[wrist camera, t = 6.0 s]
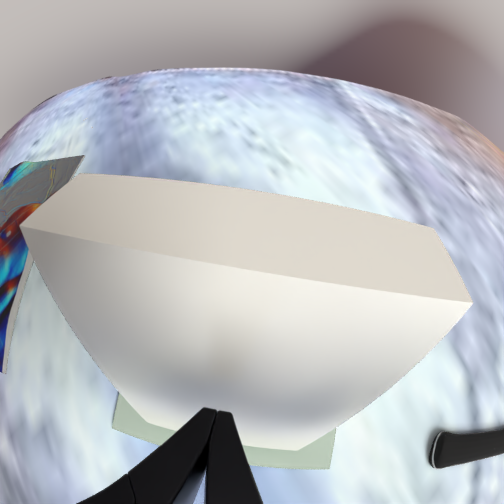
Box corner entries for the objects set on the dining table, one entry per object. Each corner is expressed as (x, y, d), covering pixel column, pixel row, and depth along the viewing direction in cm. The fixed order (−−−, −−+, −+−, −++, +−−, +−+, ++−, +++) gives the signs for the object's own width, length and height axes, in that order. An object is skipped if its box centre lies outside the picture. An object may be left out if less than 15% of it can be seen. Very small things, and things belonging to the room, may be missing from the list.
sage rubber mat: (327, 468, 13) (329, 469, 12) (113, 427, 13) (111, 428, 13) (342, 219, 23) (343, 217, 23) (187, 193, 24) (187, 191, 24)
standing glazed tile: (297, 450, 13) (473, 303, 4) (146, 422, 13) (19, 225, 4) (300, 412, 15) (430, 224, 6) (158, 386, 15) (84, 169, 6)
